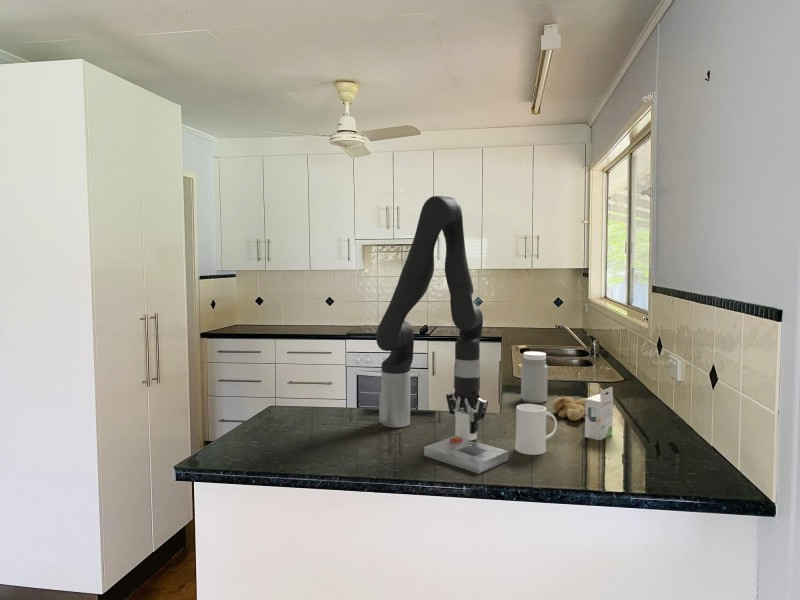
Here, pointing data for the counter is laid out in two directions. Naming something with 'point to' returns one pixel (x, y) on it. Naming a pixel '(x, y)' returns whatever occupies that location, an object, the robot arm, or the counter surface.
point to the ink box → (599, 415)
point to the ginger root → (570, 407)
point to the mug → (532, 429)
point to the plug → (463, 425)
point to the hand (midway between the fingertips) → (466, 431)
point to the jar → (534, 377)
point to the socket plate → (466, 454)
